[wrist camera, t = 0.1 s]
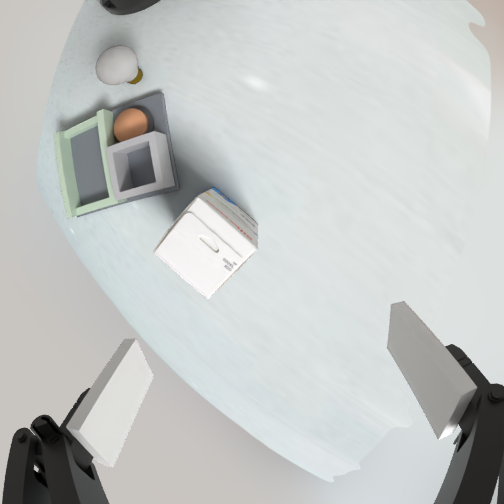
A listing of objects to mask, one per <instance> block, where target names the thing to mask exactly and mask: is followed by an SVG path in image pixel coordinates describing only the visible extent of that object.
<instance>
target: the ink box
mask: <svg viewBox="0 0 504 504" xmlns="http://www.w3.org/2000/svg"><path fill="white" fill-rule="evenodd" d="M257 249H258V224H257V223H256V222H255V221H254V220H253V219H251V218H250V217H249V216H248V215H247V214H246V213H245V212H243V211H242V210H241V209H240V208H239V207H237V206H236V205H235V204H234V203H232V202H231V201H230V200H229V199H228V198H226V197H225V196H224V195H223V194H222V193H221V192H219V191H218V190H217V189H216V188H215V187H213V188H211V189H209V190H207V191H205V192H203V193H201V194H200V195H198V196H196V197H195V199H194V200H193V201H192V202H191V203H190V204H189V205H188V207H187V208H186V209H185V210H184V211H183V212H182V213H181V215H180V216H179V217H178V218H177V219H176V221H175V222H174V223H173V224H172V226H171V227H170V228H169V229H168V231H167V232H166V233H165V235H164V236H163V237H162V239H161V240H160V242H159V243H158V245H157V246H156V248H155V249H154V251H153V252H154V253H155V254H156V255H157V256H158V257H159V258H160V259H161V260H162V261H164V262H165V263H166V264H167V265H168V266H169V267H170V268H172V269H173V270H174V271H175V272H176V273H177V274H178V275H180V276H181V277H182V278H183V279H184V280H185V281H186V282H188V283H189V284H190V285H191V286H192V287H194V288H195V289H196V290H197V291H198V292H199V293H201V294H202V295H203V296H204V297H206V298H210V297H211V296H212V295H213V294H214V293H215V292H216V291H217V290H218V289H219V288H220V287H221V286H222V285H224V284H225V283H226V282H227V281H228V280H229V279H230V278H231V277H232V276H233V275H234V274H235V273H236V272H237V270H238V269H239V268H240V267H241V266H242V265H243V264H244V263H245V262H246V261H247V260H248V259H249V258H250V257H251V256H252V255H253V254H254V253H255V252H256V250H257Z"/></svg>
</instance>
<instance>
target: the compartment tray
mask: <svg viewBox="0 0 504 504" xmlns="http://www.w3.org/2000/svg"><path fill="white" fill-rule="evenodd" d="M131 108H134V109H138V110H140V111H142V112H144V113H145V115H146V116H147V118H148V129H147V132H146V134H144V135H141V136H138V137H135V138H132V139H129V140H126V141H123V142H120V141H119V140H118V139H117V138H116V136H115V134H114V124H115V121H116V119H117V117H118V116H119V115H120V114H121V113H122V112H123V111H125V110H127V109H131ZM54 141H55V151H56V159H57V166H58V173H59V179H60V185H61V191H62V196H63V201H64V206H65V210H66V215H67V219H69V218H72V217H75V216H77V217H80V216H83V215H86V214H90V213H93V212H96V211H100V210H103V209H106V208H110V207H113V206H117V205H121V204H124V203H128V202H132V201H135V200H139V199H143V198H147V197H151V196H155V195H159V194H163V193H168V192H172V191H176V190H180V188H179V182H178V177H177V172H176V167H175V161H174V156H173V150H172V144H171V138H170V132H169V126H168V120H167V113H166V106H165V99H164V94H162V93H158V94H155V95H152V96H149V97H146V98H143V99H141V100H138V101H135V102H132V103H130V104H127V105H125V106H122V107H119V108H117V109H115V110H112V111H108V110H105V109H102V110H100V111H97V116H95V117H92V118H90V119H88V120H86V121H84V122H82V123H80V124H78V125H76V126H74V127H72V128H70V129H68V130H66V131H58V132H56V133H54Z"/></svg>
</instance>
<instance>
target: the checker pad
mask: <svg viewBox="0 0 504 504" xmlns="http://www.w3.org/2000/svg"><path fill="white" fill-rule="evenodd" d="M147 129H148V118H147V116H146V115H145V113H144V112H142V111H140V110H138V109H134V108H131V109H127V110H125V111H123V112H122V113H121V114H120V115H119V116H118V117H117V119H116V121H115V124H114V134H115V136H116V138H117V139H118V140H119V141H120V142H123V141H126V140H129V139H132V138H135V137H138V136H141V135H144V134H146V132H147Z"/></svg>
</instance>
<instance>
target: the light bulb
mask: <svg viewBox="0 0 504 504" xmlns="http://www.w3.org/2000/svg"><path fill="white" fill-rule="evenodd" d="M137 65H138V59H137V55H136V53H135V52H134V51H133V50H132V49H131V48H129V47H127V46H123V45H118V46H113V47H111V48H109V49H107V50H106V51H104V52H103V53H102V54H101V55H100V57H99V58H98V60H97V63H96V74H97V76H98V78H99V79H100V80H101V81H102V82H103V83H105V84H108V85H118V84H121V83H124V82H128V83H130V84H136V83H138V82H139V81H140V80H141V79H142V76H143V73H142V71H141V70H140V69H139V68H138V67H137Z"/></svg>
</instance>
